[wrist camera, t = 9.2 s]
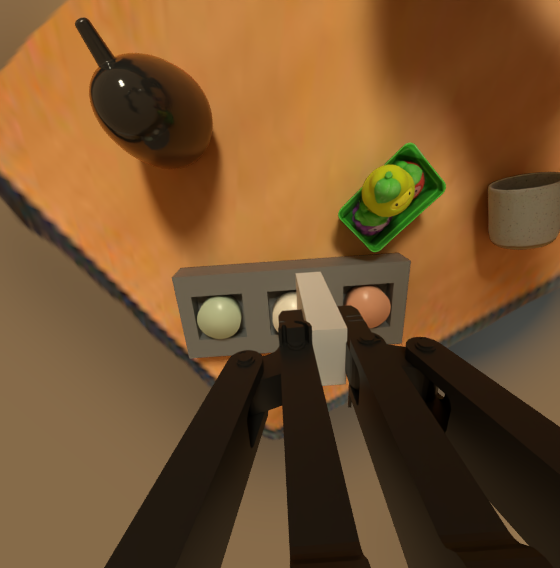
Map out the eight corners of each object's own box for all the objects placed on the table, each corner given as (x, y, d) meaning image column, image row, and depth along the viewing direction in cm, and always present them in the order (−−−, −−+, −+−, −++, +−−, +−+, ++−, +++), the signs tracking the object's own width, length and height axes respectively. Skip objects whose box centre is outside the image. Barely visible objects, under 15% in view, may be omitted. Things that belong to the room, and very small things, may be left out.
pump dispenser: (193, 56, 33) (134, -27, 19) (231, 150, 37) (207, 139, 23) (115, 94, 34) (5, 42, 20) (160, 181, 38) (95, 189, 24)
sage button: (197, 295, 41) (193, 302, 39) (239, 292, 41) (237, 299, 39) (204, 331, 44) (200, 340, 41) (244, 328, 44) (242, 337, 41)
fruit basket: (363, 245, 42) (394, 272, 31) (321, 202, 39) (339, 215, 29) (427, 185, 39) (485, 192, 28) (386, 134, 37) (433, 121, 26)
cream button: (271, 293, 40) (270, 300, 38) (313, 290, 40) (316, 297, 38) (274, 330, 43) (274, 339, 40) (314, 327, 43) (317, 336, 40)
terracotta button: (344, 284, 41) (348, 291, 39) (385, 281, 41) (392, 288, 39) (343, 321, 44) (347, 330, 41) (382, 318, 44) (389, 327, 41)
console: (180, 268, 42) (171, 277, 39) (398, 252, 42) (410, 260, 39) (195, 343, 47) (189, 358, 43) (391, 329, 47) (401, 343, 43)
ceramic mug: (476, 243, 42) (519, 258, 35) (473, 187, 39) (520, 191, 32) (550, 221, 41) (609, 232, 34) (553, 162, 38) (619, 160, 31)
